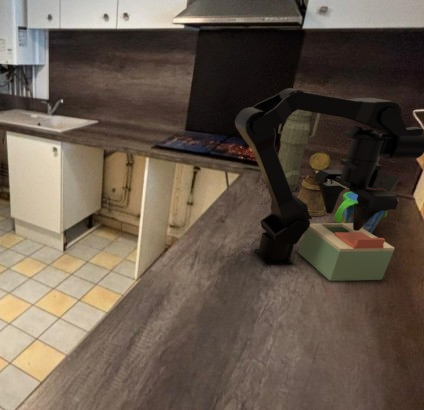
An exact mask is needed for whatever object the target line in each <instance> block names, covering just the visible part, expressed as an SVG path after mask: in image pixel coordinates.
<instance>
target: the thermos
mask: <svg viewBox="0 0 424 410" xmlns="http://www.w3.org/2000/svg"><path fill="white" fill-rule="evenodd" d="M302 91H303V92H308V93H314V94H317V93H316V92H315V91H311V90H310V91H309V90H302ZM314 114H315V112H309V111H303V110H296V111H295V112H293V113H292V114H291V115H290V116H289V117H288V118H287V119H286V122H285V123H284V125H283V123H282V124H280V125H278V130H277V134H280V146H279V150H278V157H279V160H280V163H281V165H282V168H283V171H284V173H285V176H286V179H287V182H288V184H289V187H290V190H291V193H292V192H296V190H297V186H298V183H299V180H300V176H301V174H300V169H301V166H302V162H303V159H304V158H303V157H304V155H305V151H306V146H307V145H309V141H310V139H312V138H313V137H315V136H316V132H317V129H318V126H319V125H318V124H319V122H320V119H321V116H322V114H321V113H316V117H315V121H314V125H313V128H312V121H313V119H312V118H313V117H314Z"/></svg>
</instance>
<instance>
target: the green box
mask: <svg viewBox="0 0 424 410" xmlns="http://www.w3.org/2000/svg"><path fill="white" fill-rule="evenodd" d="M325 228H327V229H328V230H329V231H331V232H332V233H335V232H349V231H348V230H346V229H345V228H343V227H325ZM298 254H299V255H300V256H302V257H303V258H304V259H305V260H306V261H307V262H308V263H309V264H311V266H313V268H315V269H316V270H317V271H318V272H319V273H320V274H322V275H323V277H325V278H326V279H327V280H328V281H330V282H333V281H336V282H337V281H340V282H341V281H383V278H384V276H385V274H386V271H387V269H388V267H389V264H390V261H391V259H392V256H393V254H394V251H355V252H354V251H351V252H339V251H338V250H337V249H335V248H334V247H333V246H331V245H330V244H329V243H327V242H326V241H325V240H323V239H322V238H321V237H319V236H318V235H317V234H315V233H314V232H313V231H311V230H310V229H309V228H308V229H307V231H305V232H304V234H303V235H302V239H301V243H300V246H299V250H298Z"/></svg>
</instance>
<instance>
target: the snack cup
mask: <svg viewBox="0 0 424 410" xmlns="http://www.w3.org/2000/svg"><path fill="white" fill-rule="evenodd" d="M357 197H358V195H357V194H355V193H353V192H351V191H346V192H345V193H343V194H342V202H341V204H340V205H339V206H338V209H337V210H336V212H335V213H334V218H333V220H334V221H335V223H353V218H354V204H355V203H358V201H357ZM388 211H389V210H387V211H380V212H378V213H376V214H375V215H374V216H372V217H371V218H370V219H369V220H368V222H367V223H366V224H365V225H364V226H363V227H362V228H363V229H365V230H366V231H368V232H369V233H371V234H373V232H374V231H375V230H376V228H377V227H378V225H379V223H380V221H381V220H382V219H385V218H386V217H387V215H388Z"/></svg>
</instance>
